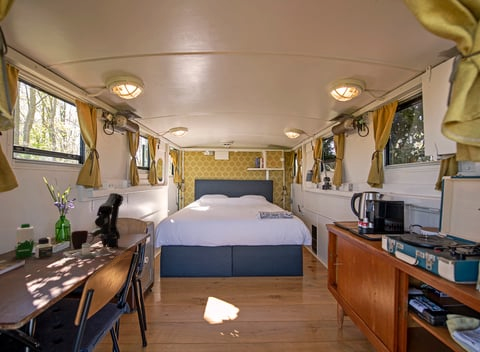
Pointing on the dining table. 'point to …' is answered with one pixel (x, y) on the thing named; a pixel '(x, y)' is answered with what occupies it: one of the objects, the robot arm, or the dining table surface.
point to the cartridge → (86, 249)
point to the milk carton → (24, 241)
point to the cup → (79, 239)
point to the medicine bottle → (44, 248)
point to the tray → (72, 252)
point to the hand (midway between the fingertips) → (104, 247)
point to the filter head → (94, 254)
